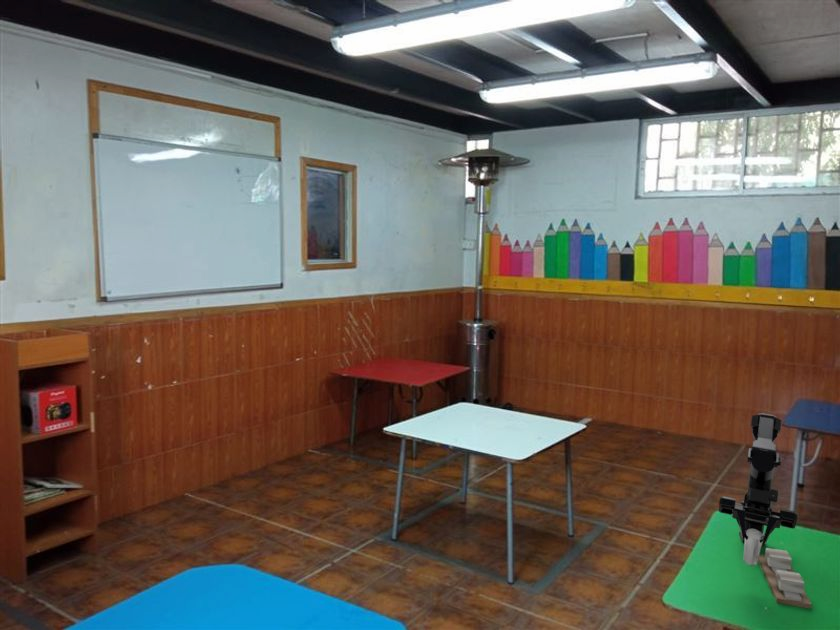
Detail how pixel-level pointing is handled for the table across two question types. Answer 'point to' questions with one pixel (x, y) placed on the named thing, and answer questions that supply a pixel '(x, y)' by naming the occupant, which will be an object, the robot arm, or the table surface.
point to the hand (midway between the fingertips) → (753, 542)
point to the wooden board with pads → (783, 578)
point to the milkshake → (752, 546)
